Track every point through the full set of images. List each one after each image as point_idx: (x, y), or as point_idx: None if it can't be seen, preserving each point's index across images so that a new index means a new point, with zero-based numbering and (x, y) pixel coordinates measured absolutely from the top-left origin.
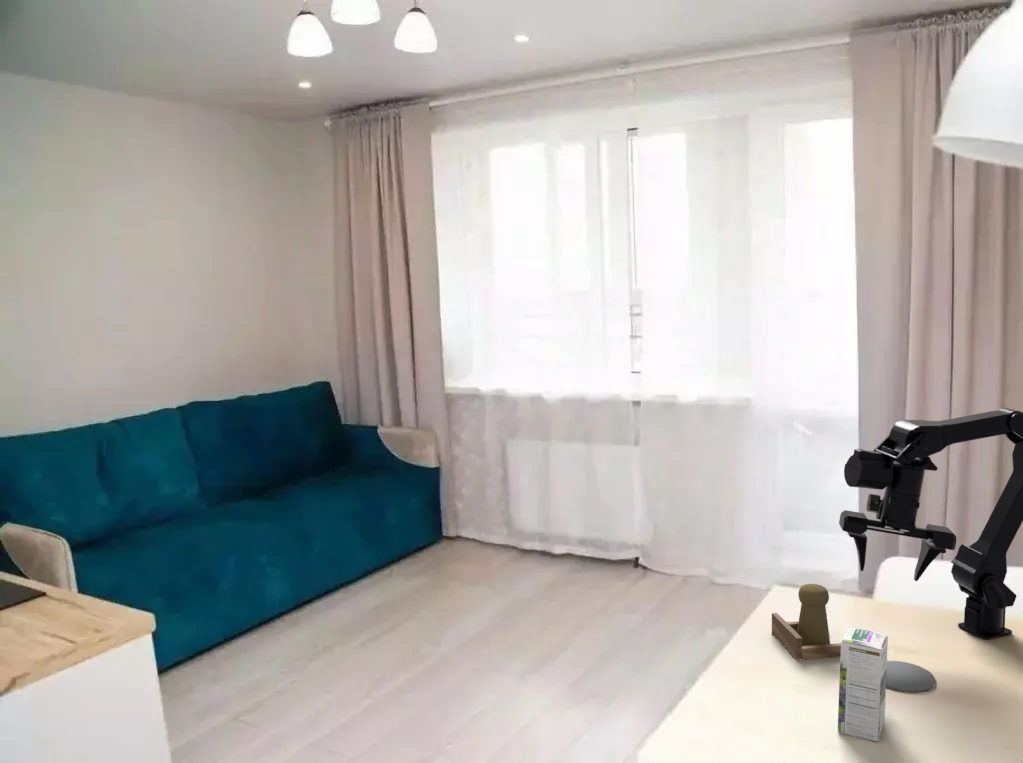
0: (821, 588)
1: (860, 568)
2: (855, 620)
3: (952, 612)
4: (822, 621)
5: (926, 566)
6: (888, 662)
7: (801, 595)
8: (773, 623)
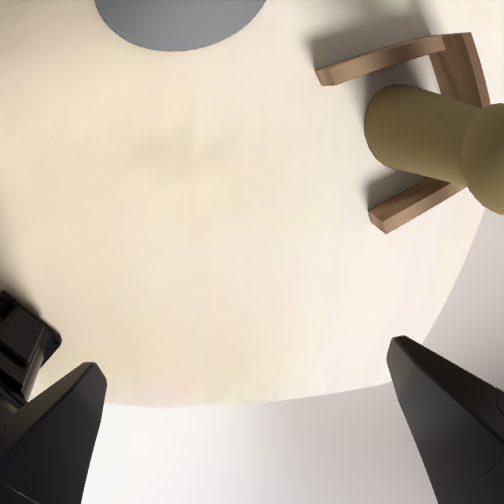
0: None
1: (413, 343)
2: (288, 303)
3: None
4: (436, 106)
5: (8, 421)
6: (213, 32)
7: None
8: None
